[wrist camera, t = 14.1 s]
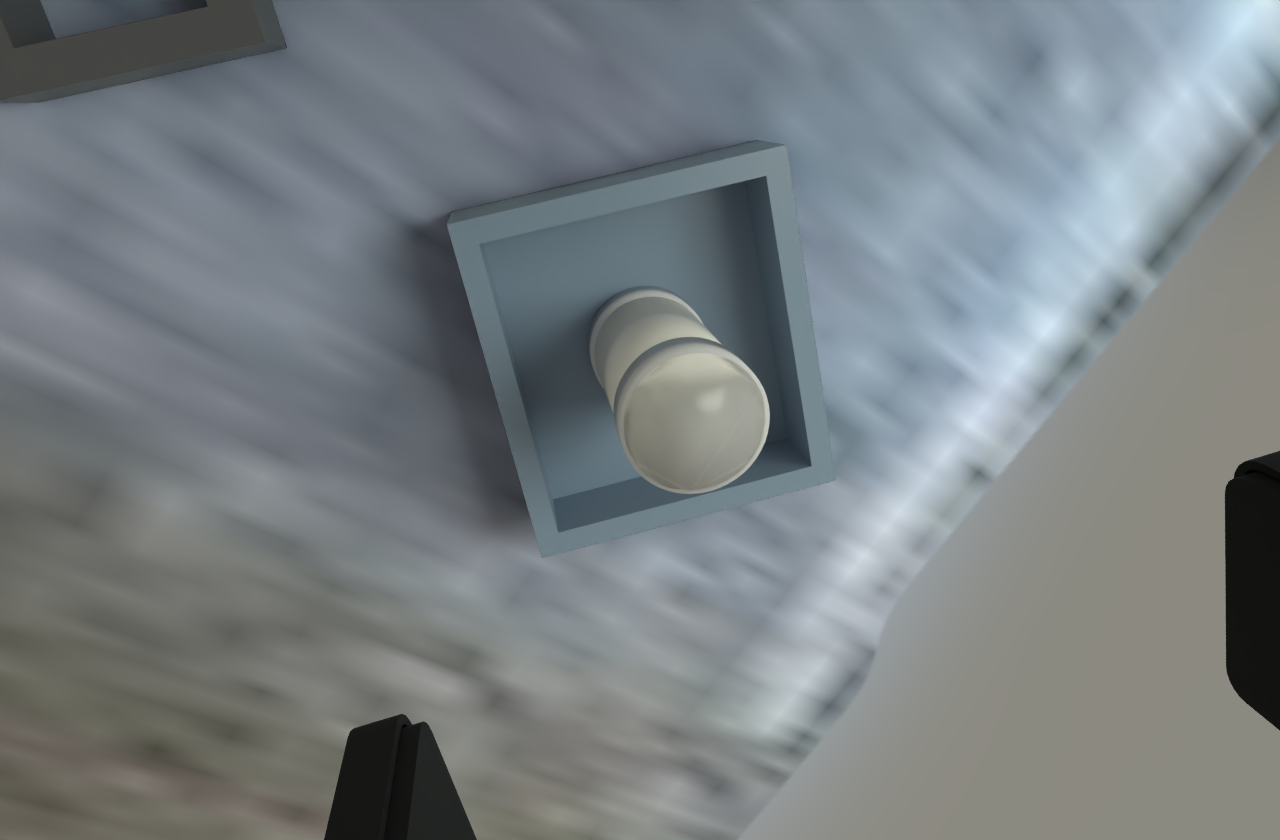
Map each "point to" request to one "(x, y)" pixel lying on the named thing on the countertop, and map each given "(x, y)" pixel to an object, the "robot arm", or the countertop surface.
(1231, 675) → the robot arm
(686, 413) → the cylinder
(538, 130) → the countertop surface
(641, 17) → the countertop surface
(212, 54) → the frame
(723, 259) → the parts tray
